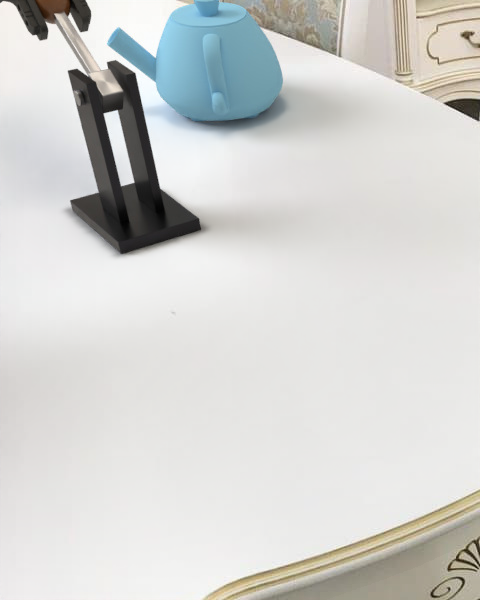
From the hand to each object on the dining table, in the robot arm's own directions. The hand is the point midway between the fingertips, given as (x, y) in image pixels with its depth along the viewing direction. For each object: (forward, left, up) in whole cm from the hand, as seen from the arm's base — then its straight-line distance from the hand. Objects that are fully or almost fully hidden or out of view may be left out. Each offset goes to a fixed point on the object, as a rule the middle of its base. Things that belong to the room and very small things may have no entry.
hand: (65, 30), depth 109 cm
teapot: (+11, +23, -17) cm, 31 cm away
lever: (+1, -2, -2) cm, 3 cm away
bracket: (+4, -7, -17) cm, 18 cm away
